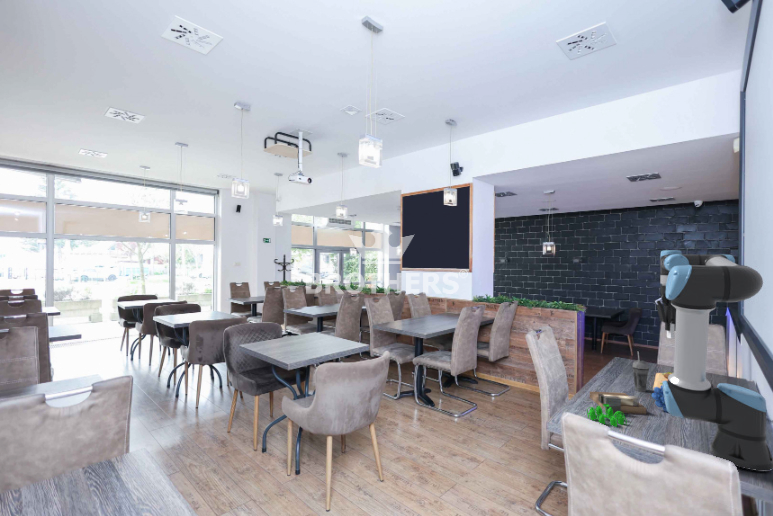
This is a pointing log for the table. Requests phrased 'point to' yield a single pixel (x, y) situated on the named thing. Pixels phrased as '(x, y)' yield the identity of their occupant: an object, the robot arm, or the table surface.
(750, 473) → the table surface
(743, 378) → the table surface
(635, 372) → the beverage cup
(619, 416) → the green knobby part
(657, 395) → the grapes
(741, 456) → the robot arm
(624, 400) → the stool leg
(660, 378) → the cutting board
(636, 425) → the table surface
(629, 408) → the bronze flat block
